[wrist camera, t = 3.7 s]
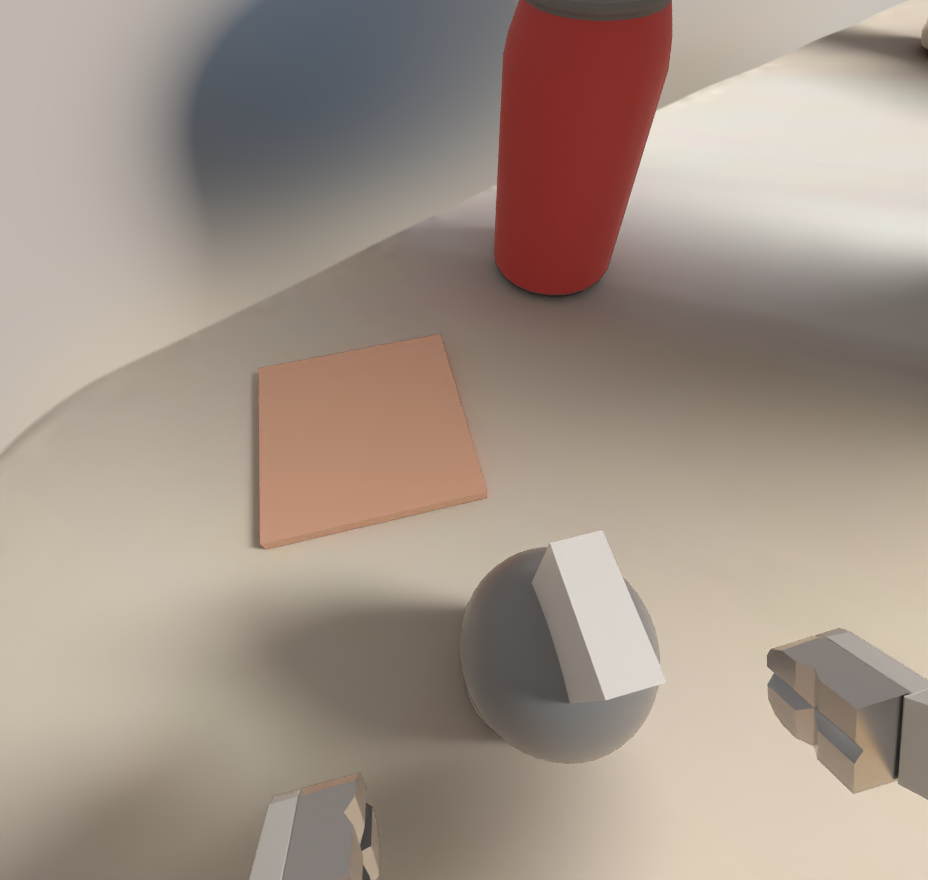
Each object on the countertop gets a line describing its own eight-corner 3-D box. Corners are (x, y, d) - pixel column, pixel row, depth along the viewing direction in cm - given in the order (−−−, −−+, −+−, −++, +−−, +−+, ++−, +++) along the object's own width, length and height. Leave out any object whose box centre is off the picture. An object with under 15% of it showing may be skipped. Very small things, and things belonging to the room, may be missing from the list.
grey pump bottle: (558, 597, 17) (671, 448, 7) (601, 722, 15) (835, 740, 5) (452, 625, 16) (425, 505, 7) (481, 757, 14) (500, 849, 5)
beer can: (619, 244, 27) (708, -40, 17) (588, 316, 24) (674, 21, 14) (517, 218, 29) (542, -57, 18) (475, 283, 26) (477, -5, 15)
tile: (440, 342, 23) (440, 333, 23) (486, 497, 19) (487, 491, 18) (263, 376, 22) (258, 368, 22) (266, 549, 18) (259, 544, 17)
